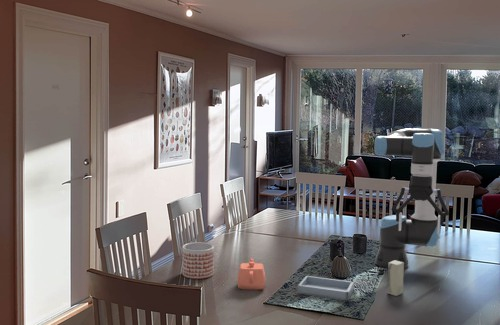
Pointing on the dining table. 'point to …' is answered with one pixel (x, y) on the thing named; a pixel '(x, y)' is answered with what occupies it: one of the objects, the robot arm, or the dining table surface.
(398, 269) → the box
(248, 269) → the teapot
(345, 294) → the bin
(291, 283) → the dining table surface
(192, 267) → the planter
